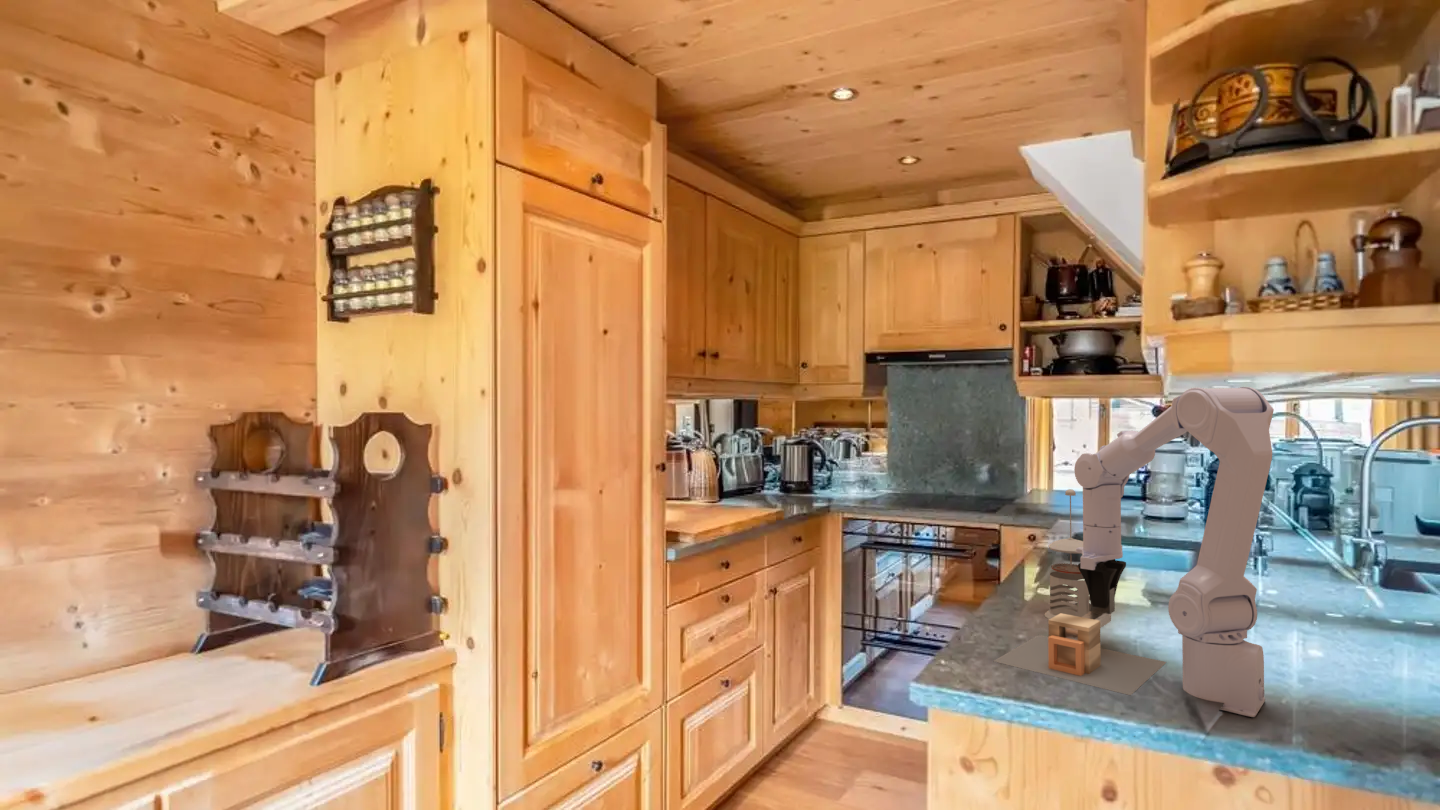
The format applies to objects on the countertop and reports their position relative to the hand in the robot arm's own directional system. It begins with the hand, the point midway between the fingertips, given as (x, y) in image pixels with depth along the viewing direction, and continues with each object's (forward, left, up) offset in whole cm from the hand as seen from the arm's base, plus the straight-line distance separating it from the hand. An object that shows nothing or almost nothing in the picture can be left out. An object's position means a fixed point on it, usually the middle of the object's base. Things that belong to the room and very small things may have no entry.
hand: (1102, 605), depth 126 cm
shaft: (0, +6, -3) cm, 7 cm away
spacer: (0, +16, -7) cm, 18 cm away
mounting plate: (0, +11, -8) cm, 13 cm away
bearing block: (0, +13, -7) cm, 15 cm away
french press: (+10, -16, -8) cm, 20 cm away
